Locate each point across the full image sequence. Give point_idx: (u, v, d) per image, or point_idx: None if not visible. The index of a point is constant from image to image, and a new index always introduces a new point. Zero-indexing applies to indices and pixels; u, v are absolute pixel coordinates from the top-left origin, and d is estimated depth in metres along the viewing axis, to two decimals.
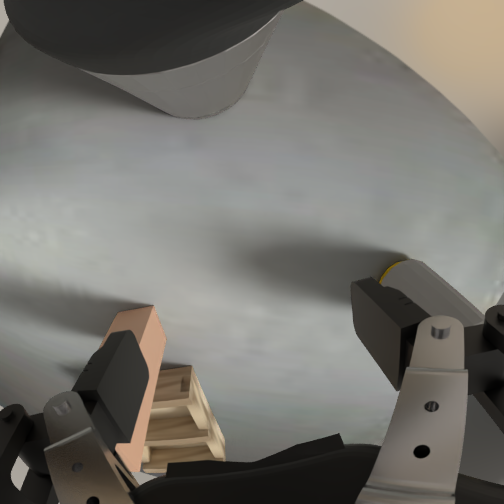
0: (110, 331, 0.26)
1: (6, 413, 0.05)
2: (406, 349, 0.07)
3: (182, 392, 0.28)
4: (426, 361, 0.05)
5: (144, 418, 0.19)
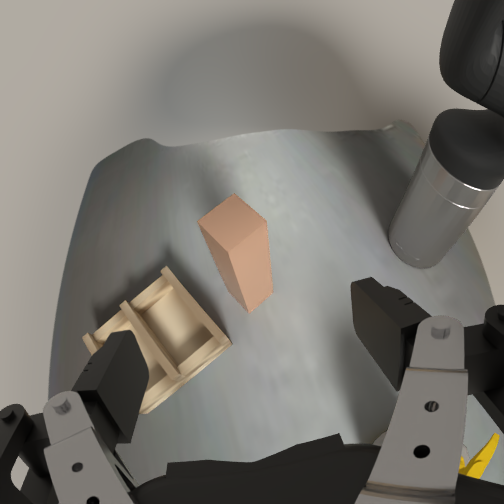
0: None
1: (6, 413, 0.05)
2: (406, 349, 0.07)
3: None
4: (426, 361, 0.05)
5: (242, 270, 0.28)
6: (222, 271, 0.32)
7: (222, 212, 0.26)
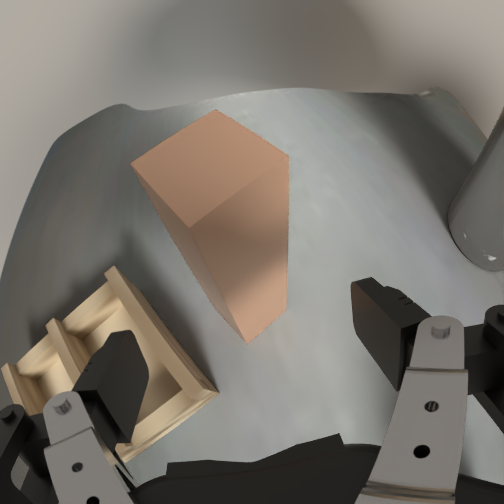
0: None
1: (6, 413, 0.05)
2: (406, 349, 0.07)
3: (199, 380, 0.18)
4: (426, 361, 0.05)
5: (231, 275, 0.13)
6: (197, 276, 0.17)
7: (185, 143, 0.11)
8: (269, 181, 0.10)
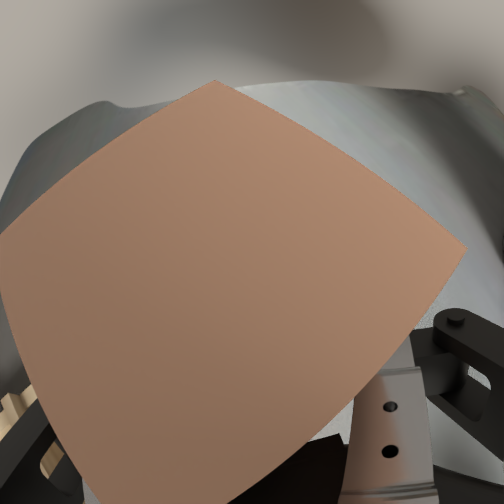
0: None
1: None
2: None
3: None
4: None
5: None
6: None
7: (120, 181, 0.03)
8: None
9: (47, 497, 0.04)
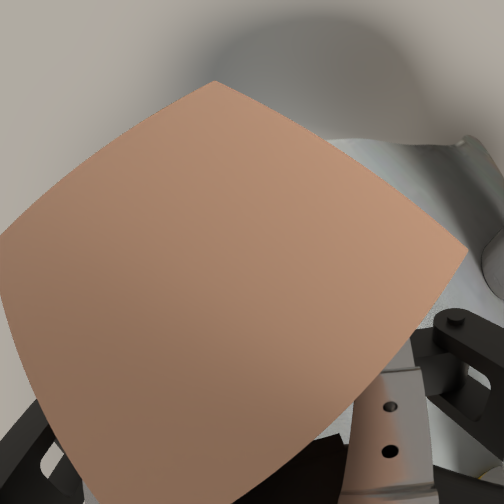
0: None
1: None
2: None
3: None
4: None
5: None
6: None
7: (119, 182, 0.03)
8: None
9: (47, 497, 0.04)
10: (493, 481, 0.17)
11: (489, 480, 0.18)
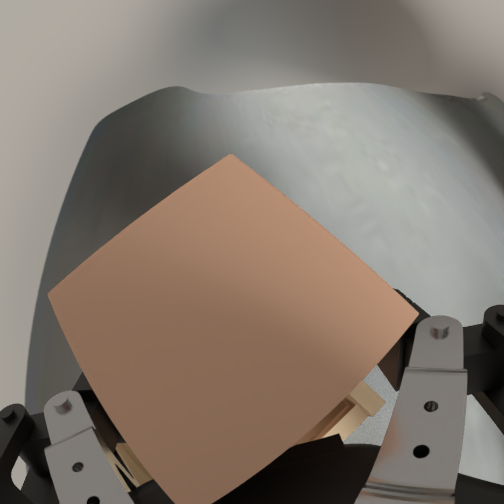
0: None
1: (7, 413, 0.05)
2: (405, 349, 0.07)
3: None
4: (425, 361, 0.05)
5: None
6: None
7: (161, 253, 0.04)
8: None
9: None
10: None
11: None
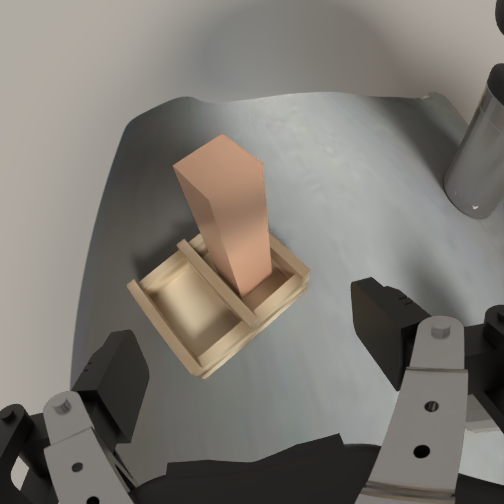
0: None
1: (6, 413, 0.05)
2: (406, 349, 0.07)
3: None
4: (426, 361, 0.05)
5: (230, 233, 0.21)
6: (208, 241, 0.26)
7: (205, 154, 0.19)
8: (251, 176, 0.19)
9: None
10: None
11: None
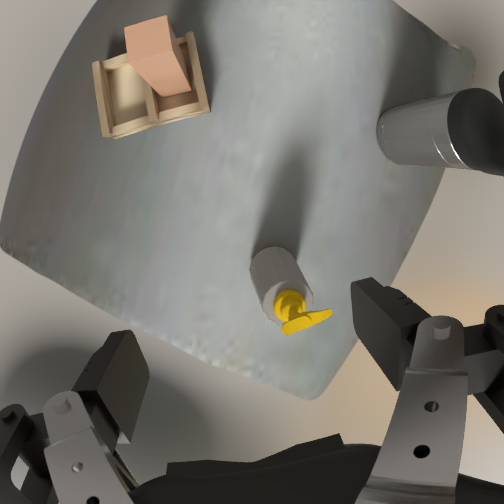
0: (183, 59, 0.33)
1: (6, 413, 0.05)
2: (406, 349, 0.07)
3: (207, 101, 0.36)
4: (426, 361, 0.05)
5: (147, 73, 0.26)
6: None
7: (145, 28, 0.21)
8: (163, 55, 0.22)
9: None
10: (274, 252, 0.42)
11: (273, 250, 0.42)
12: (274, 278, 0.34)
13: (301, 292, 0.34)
